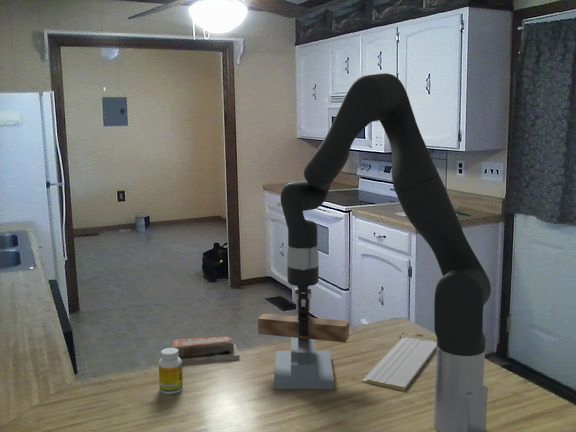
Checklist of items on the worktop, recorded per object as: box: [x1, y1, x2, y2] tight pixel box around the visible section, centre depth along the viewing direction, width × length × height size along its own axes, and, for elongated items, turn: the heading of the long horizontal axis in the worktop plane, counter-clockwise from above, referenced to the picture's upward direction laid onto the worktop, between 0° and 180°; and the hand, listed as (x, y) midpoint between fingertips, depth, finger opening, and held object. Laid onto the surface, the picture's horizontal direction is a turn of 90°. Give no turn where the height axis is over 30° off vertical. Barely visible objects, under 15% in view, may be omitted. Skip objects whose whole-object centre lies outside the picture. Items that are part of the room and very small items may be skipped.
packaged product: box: [169, 336, 240, 366], centre depth 157 cm, size 18×5×10 cm
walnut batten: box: [257, 313, 350, 343], centre depth 144 cm, size 22×4×4 cm, turn 73°
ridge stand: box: [273, 337, 335, 390], centre depth 145 cm, size 14×18×9 cm
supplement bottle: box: [158, 347, 184, 395], centre depth 137 cm, size 5×5×10 cm
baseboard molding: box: [361, 332, 437, 392], centre depth 152 cm, size 31×3×12 cm
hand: (303, 331), depth 144 cm, fingers closed on walnut batten, 4 cm apart
